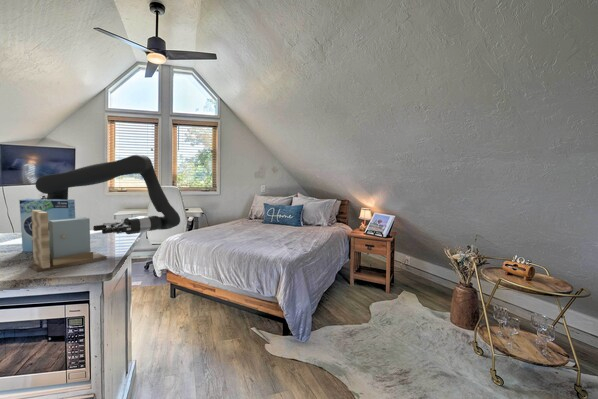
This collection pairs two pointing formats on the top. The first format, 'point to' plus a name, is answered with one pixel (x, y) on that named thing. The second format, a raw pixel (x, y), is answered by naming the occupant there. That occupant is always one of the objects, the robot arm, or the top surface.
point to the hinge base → (42, 247)
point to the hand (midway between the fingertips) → (97, 229)
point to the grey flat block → (69, 237)
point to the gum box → (53, 207)
